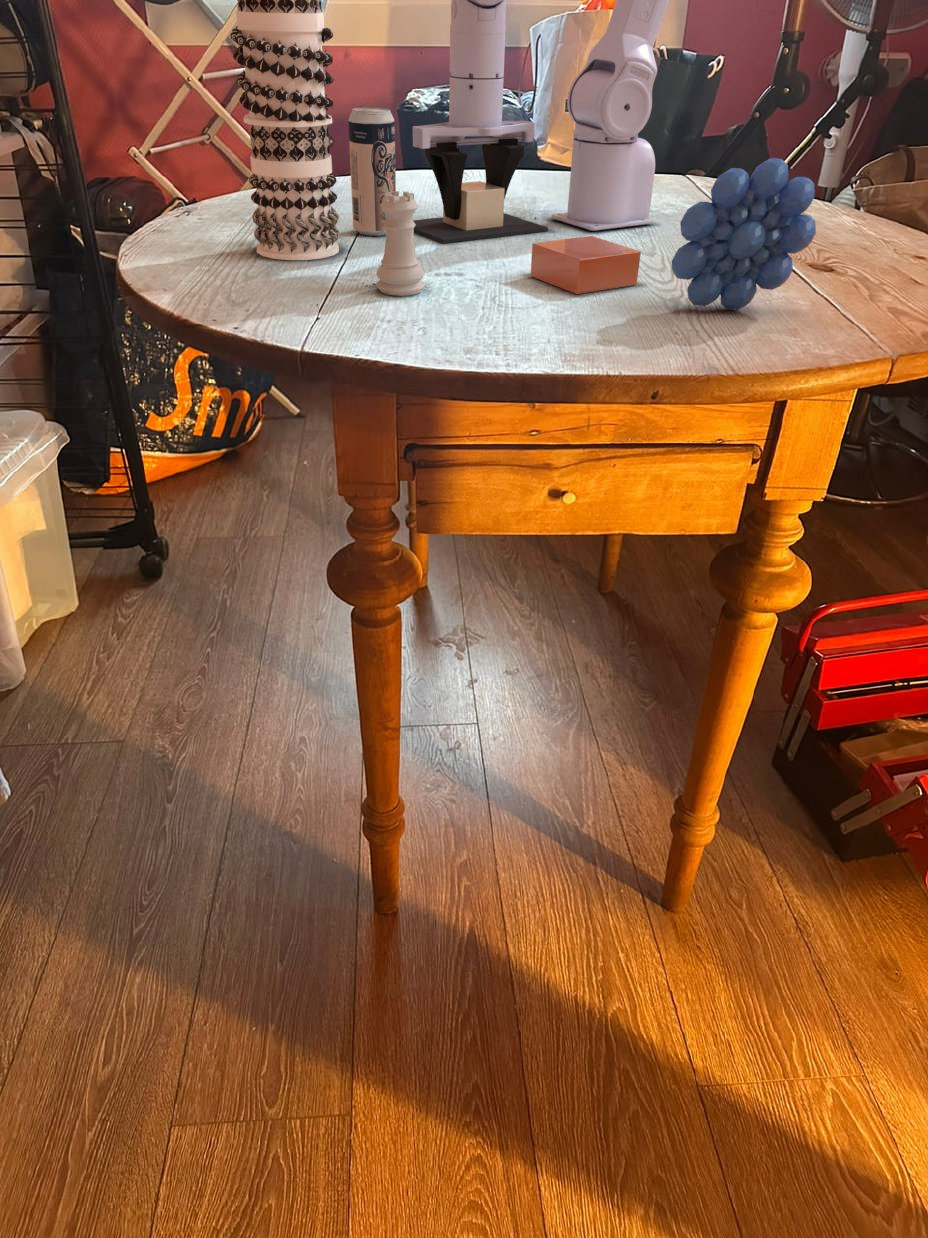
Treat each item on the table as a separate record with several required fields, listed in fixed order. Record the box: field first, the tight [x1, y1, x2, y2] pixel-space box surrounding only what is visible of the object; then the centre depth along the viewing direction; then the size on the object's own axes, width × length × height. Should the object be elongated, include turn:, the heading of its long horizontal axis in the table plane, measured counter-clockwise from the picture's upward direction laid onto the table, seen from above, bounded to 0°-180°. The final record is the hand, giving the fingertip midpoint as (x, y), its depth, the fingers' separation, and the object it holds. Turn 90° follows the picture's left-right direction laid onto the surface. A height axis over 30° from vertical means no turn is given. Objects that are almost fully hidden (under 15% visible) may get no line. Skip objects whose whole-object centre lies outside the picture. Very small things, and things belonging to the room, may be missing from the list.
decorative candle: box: [229, 0, 340, 261], centre depth 87 cm, size 9×9×25 cm
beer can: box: [347, 107, 397, 237], centre depth 99 cm, size 5×5×12 cm
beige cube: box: [442, 180, 505, 231], centre depth 104 cm, size 5×5×4 cm
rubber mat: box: [413, 212, 549, 244], centre depth 105 cm, size 14×10×1 cm
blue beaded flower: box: [671, 157, 817, 311], centre depth 78 cm, size 12×7×12 cm, turn 91°
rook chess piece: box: [375, 190, 426, 297], centre depth 81 cm, size 4×4×8 cm
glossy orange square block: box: [529, 235, 642, 295], centre depth 86 cm, size 7×7×3 cm
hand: (472, 215), depth 104 cm, fingers closed on beige cube, 5 cm apart
